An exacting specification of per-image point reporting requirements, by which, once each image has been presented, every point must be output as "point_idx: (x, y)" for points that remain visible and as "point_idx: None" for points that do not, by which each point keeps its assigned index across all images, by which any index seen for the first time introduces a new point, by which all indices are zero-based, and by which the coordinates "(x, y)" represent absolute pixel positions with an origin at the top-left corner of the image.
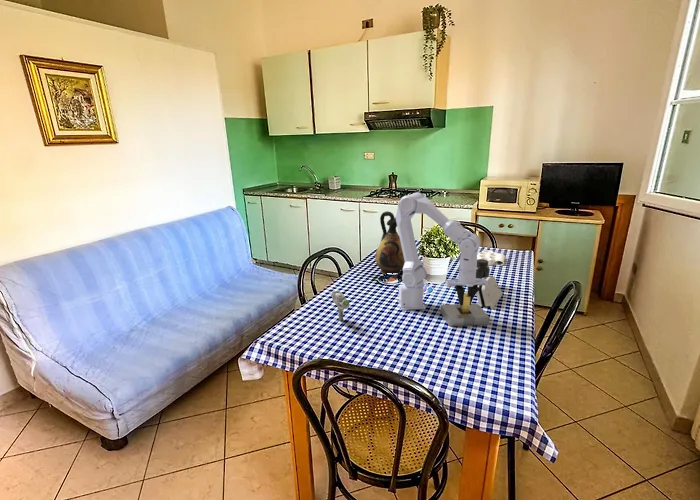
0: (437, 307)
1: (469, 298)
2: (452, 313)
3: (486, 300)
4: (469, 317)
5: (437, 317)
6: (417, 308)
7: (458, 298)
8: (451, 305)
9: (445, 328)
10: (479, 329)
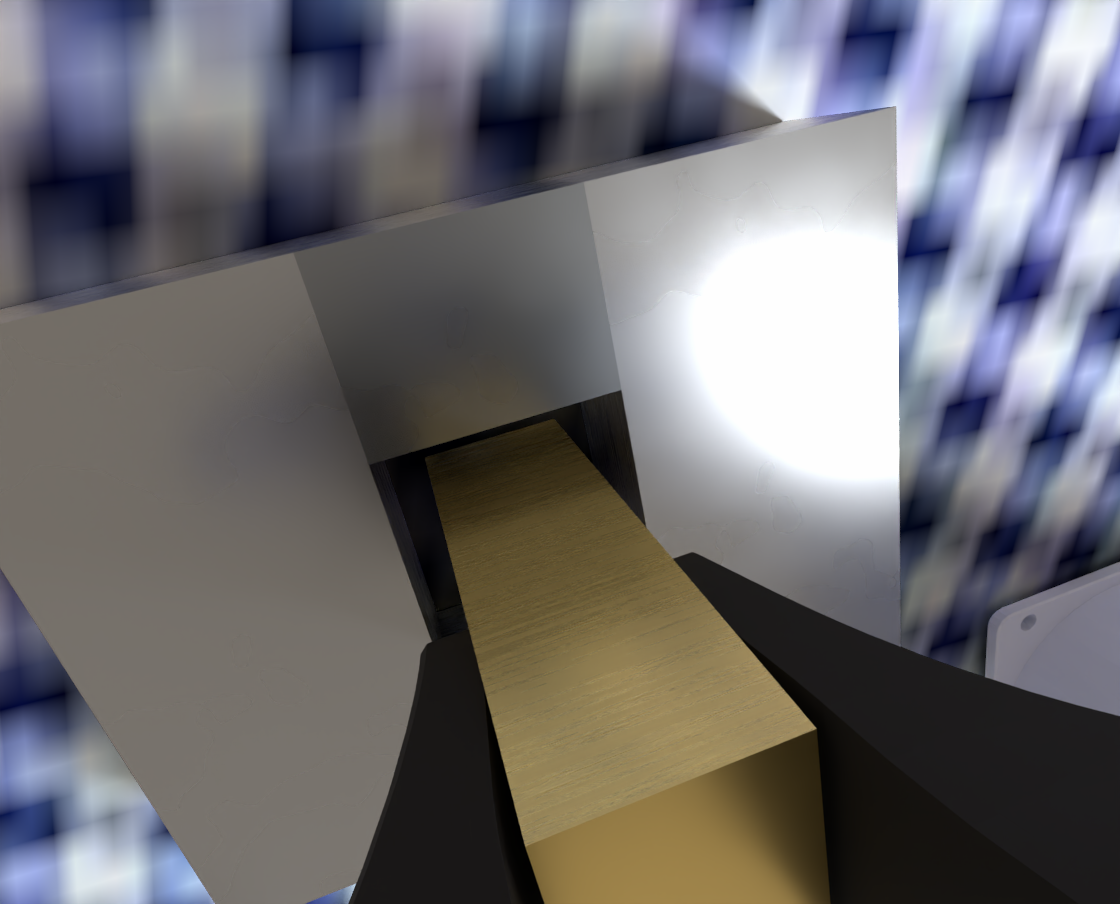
0: None
1: (542, 761)
2: (787, 380)
3: None
4: (443, 243)
5: None
6: (1096, 579)
7: None
8: None
9: (862, 28)
10: (194, 54)
